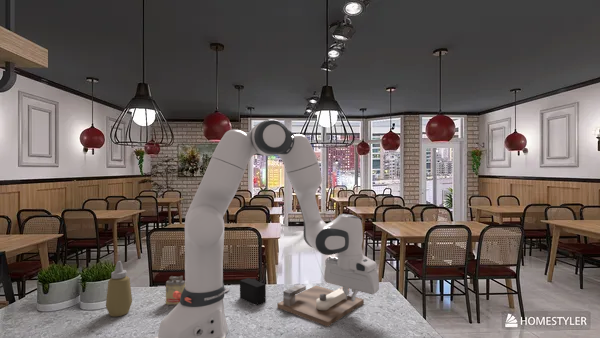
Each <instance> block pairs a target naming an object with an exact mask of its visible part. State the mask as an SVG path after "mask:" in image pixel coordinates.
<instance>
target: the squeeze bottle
mask: <svg viewBox="0 0 600 338" xmlns="http://www.w3.org/2000/svg"><path fill="white" fill-rule="evenodd" d="M127 274H128V273H127V270H126V269H124V268H123V264H122V261H121V260H118V261H116V265H115V269H114V271H112V272H111V276H110V278H109V280H108V283H107V290H106V291H107V292H106V299H105V300H106V301H105V307H106V310H107V312H108V315H109V316H110V317H112V318H114V317H117V318H118V317H122V316H125V315H127V314H128V313H129V311H130V309H131V306H132V303H133V296H132V288H131V280H130V279H131V278H130V277H129V276H127Z"/></svg>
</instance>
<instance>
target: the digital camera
mask: <svg viewBox="0 0 600 338" xmlns="http://www.w3.org/2000/svg"><path fill="white" fill-rule="evenodd" d="M266 286H267V284H266V283H264V282H261V281H258V280H257V278H250V277H247V278H244V279H241V280H239V298H240V299H241V300H243V301H246V302H248V303H250V304H252V305H254V306H256V307H258V306H260V305H263V304H265V303H266V302H267V301H266V300H267V296H266V294H267V291H266V290H267V289H266V288H267V287H266Z"/></svg>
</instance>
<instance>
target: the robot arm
mask: <svg viewBox="0 0 600 338" xmlns="http://www.w3.org/2000/svg"><path fill="white" fill-rule="evenodd" d="M274 155H276V156H278V157H279V158H280V159H281V160H282V162H283V165H284V168H285V171H286V174H287V177H288V180H289V182H290V184H291V187H292V189H293V191H294V194H295V195H296V199H297V201H298V204H299V205H298V206H299V208H300V211H301V216H302V219H303V233H302V235H303V240H304V241H305V243H306V244H307V246H308V247H311V248H313V249H314V250H315V251H317V252H318V253H320V254H322V255H324V256H328V257H327V258H326V259H325V264H324V265H325V266H324V267H325V268H324V277H323V278H324V282H325V283H327V284H330V285H334V286H338V287H343V291H344V293H345V295H346V300H349V301H352V302H354V301H355V297H356V296H357V294H358V293H359V292H361V293H365V294H369V295H372V296H373V295H375V294H376V293H378V291H379V290H380V281H379V280H380V279H379V273H378V271H377V265H378V264H377V262H376V261H374V260H373V259H371V258H369V257H367V256H366V255H364V250H363V241H364V237H363V235H364V232H363V224H362V220H361V218H359V217H358V216H356V215H354V214H347V213H340V214H339V215H338V216H337V217H336V218H335V219H333V220H331V221H330V222H328V223H326V221H324V220H323V219H322V216H321V212H320V209H319V207H318V202H317V198H316V193H317V191H318V189H319V188H320V186H321V185H322V182H323V177H322V170H321V167H320V163H319V160H318V157H317V155H316V153H315V150H314V147H313V146H312V144H311V142H310V141H309V138H308V137H307V136H306V135H304V134H300V133H296V134H295V133H293V132H292V131H291V130H290V129H289V128H288V127H287V126H286V124H284V123H283V122H281V121H280V120H277V119H265V120H263V121H261V122H259V123H257V124H256V125H254V126H253V127H252V128H251V129H250V130H248V131H247V132H246V131H243V130H241V129H230V130H227V131H226V132H224V134H223V136H222V138H221V139H220V140H219V142H218V144H217V145H216V147H215V149H214V151H213V153H212V155H211V158H210V160H209V163H208V165H207V167H206V170H205V171H204V175H203V177H202V179H201V181H200V183H199V185H198V187H197V190H196V192H195V194H194V196H193V198H192V201H191V202H190V206H189V208H188V210H187V212H186V215H185V218H184V220H185V221H184V281H185V288H184V290H183V292H182V294H181V292H178V291H175V292H174V293H173V295H172V296H173V298H176V299H180V302H179V303H178V304H177V305H175V307H174V308H173V309H172V310H171V311H170V312H169V313H168V314H167V315H166V316H165V317H164V318H163V319H162V320H161V322H160V323H159V328H158V333H157V336H154V338H226V336H227V334H228V333H229V325H228V322H227V319H226V318H227V317H226V313H225V304H224V303H225V302H224V298H225V293H224V287H225V283H224V276H223V275H224V273H223V272H224V270H223V269H224V267H223V264H224V263H223V262H224V247H225V245H224V244H225V220H224V217H225V214H226V212H227V210H228V208H229V206H230V205H231V202H232V201H233V199H234V197H235V195H236V194H237V192H238V189H239V187H240V184H241V181H242V179H243V178H244V175H245V172H246V170H247V167H248V163H249V161H250V160H251V158H252V157H253V156H263V157H265V156H266V157H271V156H274ZM332 255H337V257H333V256H332ZM348 289H349V290H348ZM350 290H351V293H352V294H351V293H350Z"/></svg>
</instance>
